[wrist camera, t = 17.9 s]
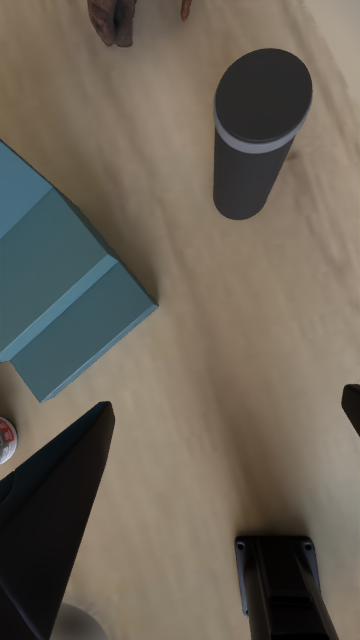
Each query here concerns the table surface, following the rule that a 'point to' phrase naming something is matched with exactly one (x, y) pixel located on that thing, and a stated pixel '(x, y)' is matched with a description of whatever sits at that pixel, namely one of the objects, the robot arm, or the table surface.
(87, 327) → the step shelf
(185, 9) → the brown looped band
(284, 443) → the table surface
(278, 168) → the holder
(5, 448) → the pill bottle
